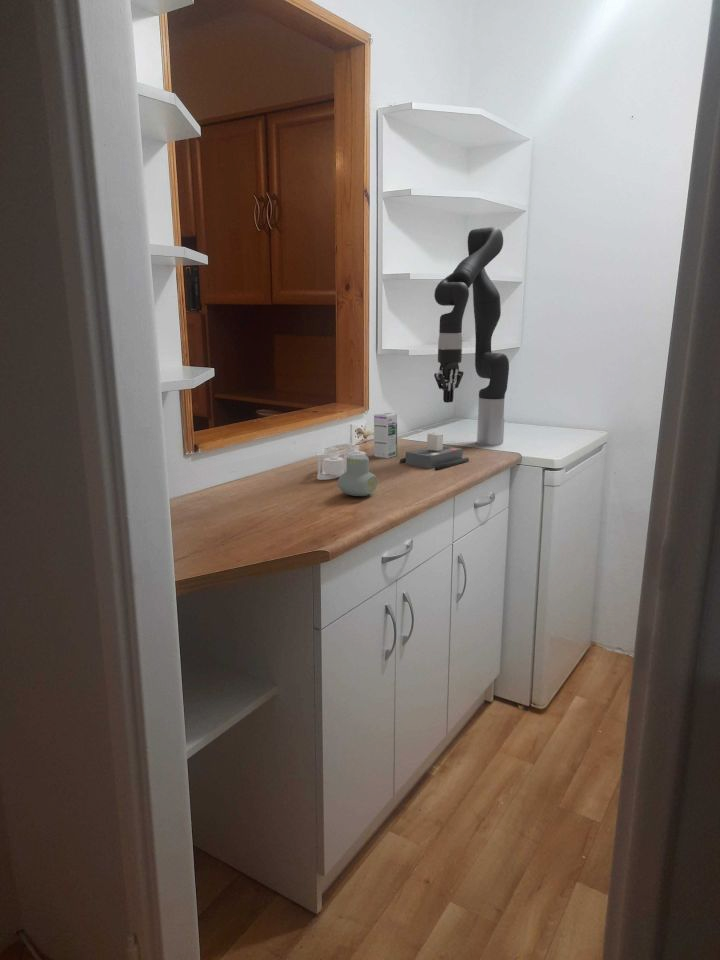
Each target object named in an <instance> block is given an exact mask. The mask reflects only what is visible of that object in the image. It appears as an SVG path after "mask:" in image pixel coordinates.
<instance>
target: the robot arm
mask: <svg viewBox="0 0 720 960" xmlns="http://www.w3.org/2000/svg"><path fill="white" fill-rule="evenodd" d="M503 246H504V236H503V232H502V230H501V229H500V228H499V227H497V226H489V227H481V228H474V229H471V230H470V231H469V232H468V235H467V252H468V256H466V257H465V258H464V259H463V260H461V261H460V263H458V265H457V266H456V268H455V269H454V270H453V272H452V273H451V274H449V275H447V276H446V277H445V278H443V279H442V280H440V282H438V283H437V285H436V288H435V290H434V294H433V295H434V296H433V297H434V300H435V302H436V303H437V304H438V305H439V306H443V307H444V306H449V307H450V306H452V307H453V309H452V310H451V311H450V312H447V313H444V314H443V313H442V314H441V315H440V317H439V330H438V331H439V333H438V341H437V343H438V344H437V362H438V363H439V364H440V366H439V371H438V372H437V373H436V372H435V373H434V374H433V376H434V379H435V382H436V384H437V387H438V389H440V390H442V392H443V393H442V394H443V397H442V399H443V403H448V404H449V403H452V402H454V397H455V396H454V395H455V393H454V392H455V389H458V388H459V386H460V384H461V381H462V378H463V376H464V374H465V373H464V371H461V370H460V365H459V364H460V363H461V362H462V353H463V336H462V334H463V333H462V332H463V331H462V328H463V318H464V314H465V310H466V307H467V304H468V300H469V297H470V290H469V288H470V287H471V285H472V298H473V299H472V300H473V301H472V302H473V305H472V306H473V317H474V329H475V331H474V332H475V344H474V345H475V347H474V348H475V351H474V352H475V353H474V367H475V372H476V374H477V376H478V377H480V378H481V379H488V380H489V383H488V386H486V387H483V388H481V389H479V391H478V410H477V432H476V444H478V445H481V446H487V447H488V446H492V447H494V446H495V447H497V446H501V445H503V443H504V435H505V433H504V432H505V417H504V415H505V397H506V392H507V390H508V381H509V374H510V372H509V371H510V362H509V361H510V360H509V358H508V356H507V355H506V354H504V353H503V352H502V353H500V352H492V336H493V333H494V331H495V330H496V328H497V325H498V323H499V321H500V318H501V312H502V311H501V309H502V307H501V295H500V293H499V290H498V288H497V287H496V285H495V284H494V282H493V281H492V280H491V278H490V276H488V274H487V272H486V269H485V267H486V266H488V265H489V263H491V261H492V260H494V259H495V258H496V257H497V256H499V254H500V252H501V251H502V249H503Z"/></svg>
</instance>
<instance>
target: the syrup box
mask: <svg viewBox="0 0 720 960" xmlns="http://www.w3.org/2000/svg"><path fill="white" fill-rule="evenodd" d="M373 456H374V457H376V458H383V459H389V458H393V457H396V456H397V457H398V413H394V412H382V413H377V414H374V415H373Z"/></svg>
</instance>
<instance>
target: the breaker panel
mask: <svg viewBox="0 0 720 960" xmlns="http://www.w3.org/2000/svg"><path fill="white" fill-rule="evenodd" d="M463 451H464V450H463V448H460V447H454V446H448V445H443V450H439V451H434V450H428V449H427V446H425V447H423V448H419V449H413V450H409V451H405V458H406V462H405V465H408V466H412V467H418V468H423V469H427V470H428V469H429V470H432V469H435V466H436V465H440V464H444V463H448V462H451V461H455V460H459V459H463V458H464V457H463V454H464V452H463Z"/></svg>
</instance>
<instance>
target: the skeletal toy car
mask: <svg viewBox="0 0 720 960" xmlns="http://www.w3.org/2000/svg"><path fill="white" fill-rule="evenodd" d="M344 448H347V449H344ZM342 449H344V450H342ZM336 450H337V451H336ZM342 455H343V457H342ZM352 455H363V456H367V453H366V451H361V450H360V445H358V444H357V445H356V444H353V443H349V442H347V443H346V442H345V443H337V444H332V445H327V446H326V447H325V446H324V447H322V449H321V452H318V453H317V454H316V459H317V475H316V477H317V478H316V479H317V480H321V481H323V480H332V479H337V478H339V477H340V476H341V475H342V474H343V473H345V472H347V457H348V456H352Z"/></svg>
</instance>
